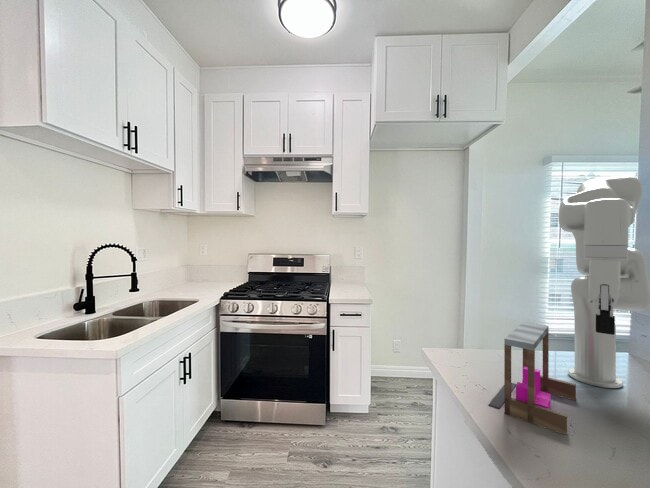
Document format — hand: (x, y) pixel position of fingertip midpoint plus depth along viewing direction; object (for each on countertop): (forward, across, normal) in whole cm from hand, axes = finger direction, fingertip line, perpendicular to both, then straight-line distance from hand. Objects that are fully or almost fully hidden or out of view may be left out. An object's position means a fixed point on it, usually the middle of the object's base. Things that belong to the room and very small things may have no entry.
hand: (605, 332), depth 71 cm
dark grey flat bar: (+21, +1, -21) cm, 30 cm away
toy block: (+22, +2, -13) cm, 26 cm away
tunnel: (+21, +1, -12) cm, 24 cm away
